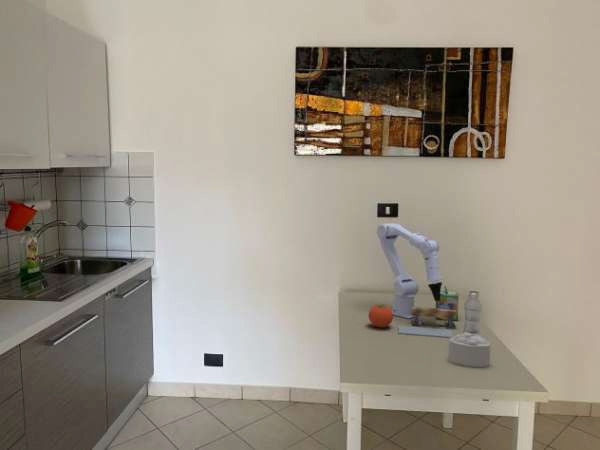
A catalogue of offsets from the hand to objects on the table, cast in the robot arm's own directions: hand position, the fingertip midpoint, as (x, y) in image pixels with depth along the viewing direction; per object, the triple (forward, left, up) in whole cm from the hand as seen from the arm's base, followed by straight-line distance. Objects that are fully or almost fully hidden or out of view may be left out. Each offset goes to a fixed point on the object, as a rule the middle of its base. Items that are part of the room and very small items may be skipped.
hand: (437, 300), depth 203 cm
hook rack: (-1, 0, -11) cm, 11 cm away
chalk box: (-2, +15, -11) cm, 19 cm away
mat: (+1, -12, -11) cm, 16 cm away
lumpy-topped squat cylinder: (+26, -29, -11) cm, 41 cm away
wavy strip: (-1, 0, -7) cm, 7 cm away
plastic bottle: (+20, -11, -11) cm, 25 cm away
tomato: (-16, -18, -11) cm, 27 cm away
